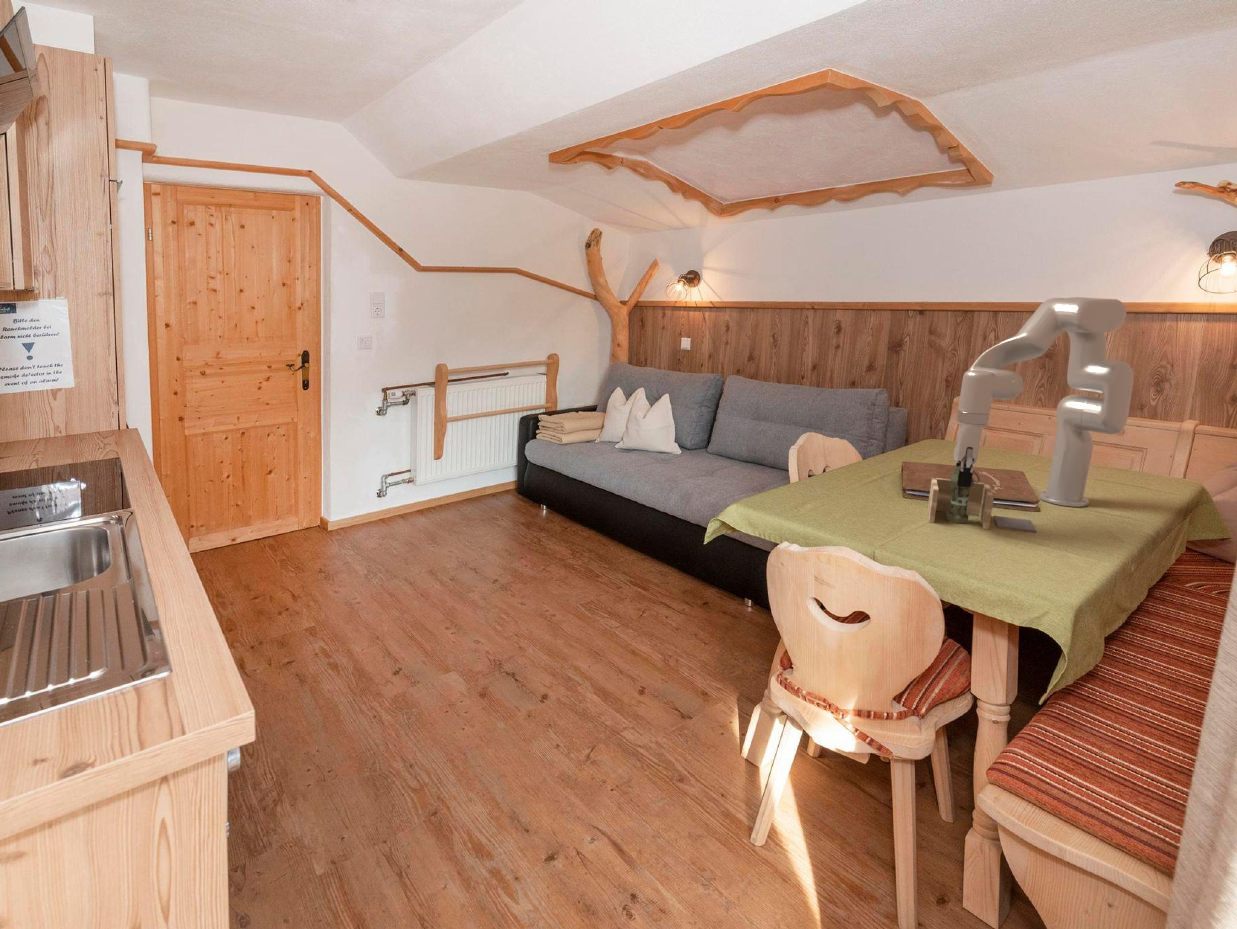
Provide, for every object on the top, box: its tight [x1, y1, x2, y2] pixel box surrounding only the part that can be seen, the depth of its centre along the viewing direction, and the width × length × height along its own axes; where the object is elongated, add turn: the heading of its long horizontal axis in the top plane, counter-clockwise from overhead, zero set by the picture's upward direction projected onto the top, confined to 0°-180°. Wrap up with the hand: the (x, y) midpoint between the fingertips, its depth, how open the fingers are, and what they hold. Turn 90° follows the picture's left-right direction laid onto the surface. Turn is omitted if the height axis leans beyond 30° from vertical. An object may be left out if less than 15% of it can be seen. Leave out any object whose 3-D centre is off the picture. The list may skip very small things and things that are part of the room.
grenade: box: [945, 466, 981, 524], centre depth 195 cm, size 7×7×15 cm
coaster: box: [993, 515, 1037, 534], centre depth 194 cm, size 9×9×1 cm
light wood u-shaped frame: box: [927, 477, 995, 531], centre depth 198 cm, size 13×14×9 cm
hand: (962, 481), depth 193 cm, fingers open, 9 cm apart
